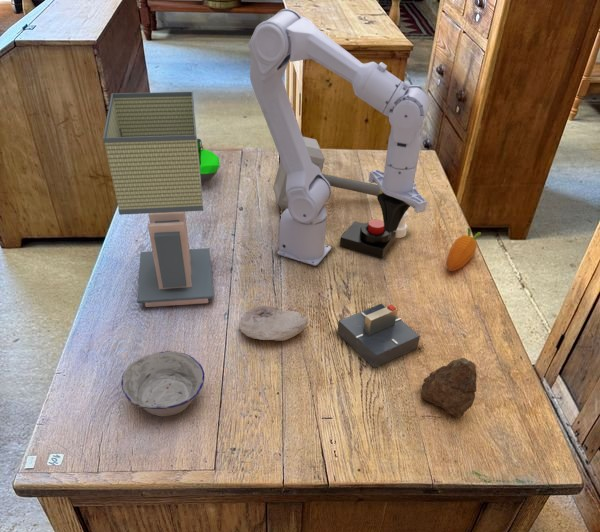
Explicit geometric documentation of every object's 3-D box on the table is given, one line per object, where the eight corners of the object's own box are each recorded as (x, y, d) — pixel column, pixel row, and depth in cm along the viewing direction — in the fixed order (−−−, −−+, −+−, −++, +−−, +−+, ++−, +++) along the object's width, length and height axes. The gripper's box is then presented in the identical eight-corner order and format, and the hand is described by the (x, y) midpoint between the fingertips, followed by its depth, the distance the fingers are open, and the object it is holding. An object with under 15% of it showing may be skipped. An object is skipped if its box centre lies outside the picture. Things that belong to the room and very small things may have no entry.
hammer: (406, 158, 138) (287, 130, 129) (416, 173, 133) (293, 145, 123) (383, 215, 148) (271, 193, 139) (391, 230, 143) (275, 209, 134)
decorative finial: (407, 238, 130) (429, 124, 112) (390, 238, 129) (408, 124, 111) (402, 225, 134) (422, 112, 116) (385, 225, 133) (402, 112, 115)
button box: (339, 246, 127) (341, 229, 124) (353, 229, 132) (355, 213, 129) (381, 258, 124) (384, 242, 121) (394, 241, 129) (397, 225, 126)
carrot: (466, 268, 116) (488, 234, 125) (446, 254, 116) (470, 220, 125) (452, 284, 120) (475, 249, 129) (433, 270, 120) (457, 236, 129)
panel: (336, 333, 106) (338, 320, 104) (379, 315, 110) (381, 302, 108) (373, 368, 100) (375, 355, 98) (417, 348, 104) (420, 334, 102)
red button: (364, 232, 124) (365, 225, 123) (371, 224, 126) (372, 217, 125) (380, 236, 123) (381, 229, 122) (386, 229, 125) (387, 221, 124)
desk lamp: (214, 309, 110) (197, 135, 86) (139, 314, 108) (100, 138, 84) (210, 256, 122) (194, 91, 99) (142, 260, 121) (109, 93, 97)
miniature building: (175, 170, 149) (169, 127, 141) (220, 169, 150) (217, 126, 142) (173, 192, 141) (167, 147, 133) (221, 191, 142) (218, 147, 134)
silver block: (368, 336, 101) (371, 319, 98) (363, 331, 102) (365, 314, 99) (394, 324, 104) (397, 308, 101) (389, 320, 104) (392, 303, 102)
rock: (413, 388, 97) (436, 343, 90) (446, 389, 99) (471, 344, 92) (434, 430, 90) (460, 384, 83) (468, 430, 92) (497, 385, 85)
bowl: (220, 409, 92) (217, 388, 89) (143, 439, 88) (137, 419, 84) (188, 361, 100) (185, 340, 96) (116, 387, 95) (110, 365, 91)
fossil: (229, 322, 101) (251, 293, 108) (231, 342, 104) (252, 312, 111) (294, 335, 98) (312, 304, 105) (294, 354, 101) (312, 323, 108)
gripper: (445, 173, 102) (430, 241, 111) (392, 143, 110) (383, 209, 120) (415, 182, 99) (402, 251, 109) (363, 151, 107) (356, 217, 117)
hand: (390, 230), depth 114 cm, fingers closed
